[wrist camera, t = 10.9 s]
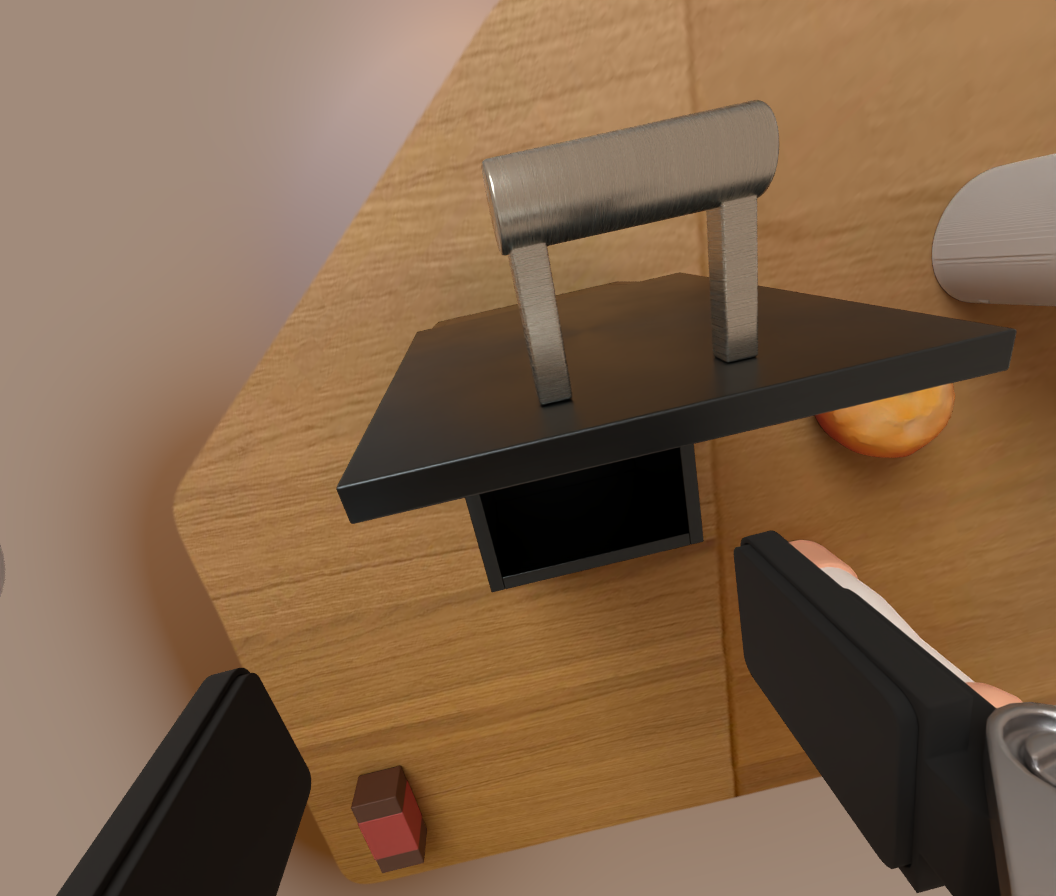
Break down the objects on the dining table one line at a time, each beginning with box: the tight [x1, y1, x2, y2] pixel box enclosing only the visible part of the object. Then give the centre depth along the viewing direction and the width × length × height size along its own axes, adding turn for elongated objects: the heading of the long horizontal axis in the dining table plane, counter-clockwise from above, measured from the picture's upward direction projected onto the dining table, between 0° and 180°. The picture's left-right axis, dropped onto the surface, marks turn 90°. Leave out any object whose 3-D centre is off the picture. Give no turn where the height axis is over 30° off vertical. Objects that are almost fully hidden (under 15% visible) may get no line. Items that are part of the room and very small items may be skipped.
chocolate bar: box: [351, 766, 427, 873], centre depth 46 cm, size 9×4×3 cm, turn 12°
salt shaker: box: [789, 540, 1023, 708], centre depth 34 cm, size 7×7×19 cm
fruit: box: [815, 383, 955, 458], centre depth 35 cm, size 8×8×8 cm
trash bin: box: [432, 282, 704, 592], centre depth 31 cm, size 15×13×11 cm
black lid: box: [336, 100, 1017, 524], centre depth 15 cm, size 15×13×5 cm
